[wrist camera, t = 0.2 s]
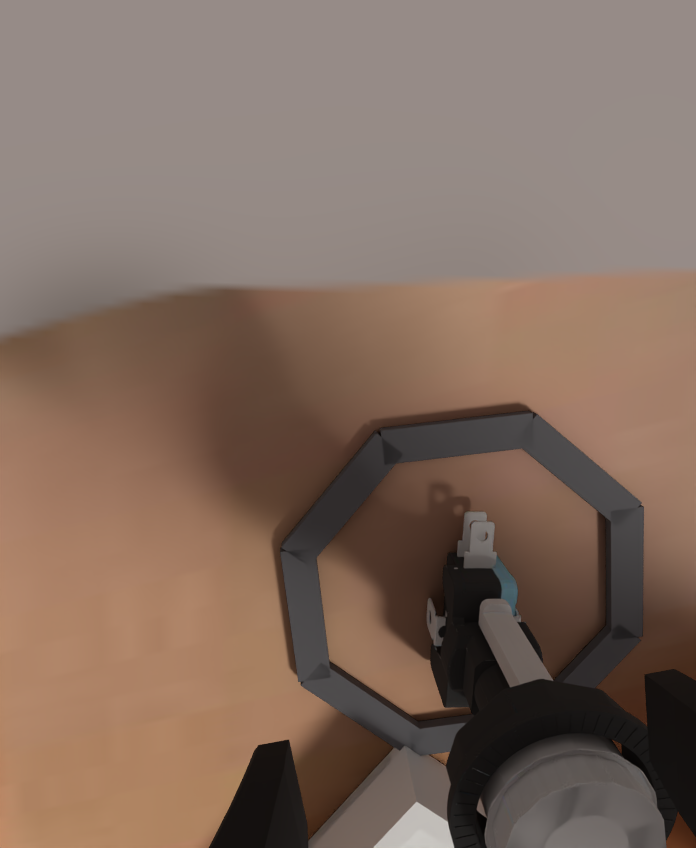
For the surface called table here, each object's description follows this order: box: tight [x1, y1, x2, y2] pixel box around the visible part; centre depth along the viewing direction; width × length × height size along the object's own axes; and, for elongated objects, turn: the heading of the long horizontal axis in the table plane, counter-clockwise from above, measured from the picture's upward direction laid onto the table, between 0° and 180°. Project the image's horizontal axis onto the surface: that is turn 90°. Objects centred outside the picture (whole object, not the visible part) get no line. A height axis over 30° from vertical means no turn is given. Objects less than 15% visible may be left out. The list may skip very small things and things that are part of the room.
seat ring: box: [280, 411, 644, 756], centre depth 22 cm, size 13×13×1 cm
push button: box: [427, 511, 678, 848], centre depth 18 cm, size 7×5×10 cm
